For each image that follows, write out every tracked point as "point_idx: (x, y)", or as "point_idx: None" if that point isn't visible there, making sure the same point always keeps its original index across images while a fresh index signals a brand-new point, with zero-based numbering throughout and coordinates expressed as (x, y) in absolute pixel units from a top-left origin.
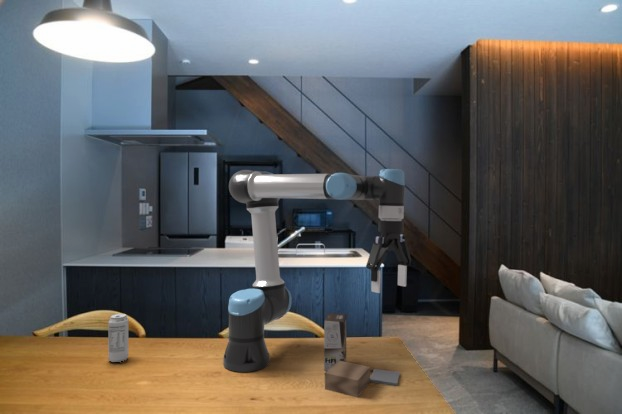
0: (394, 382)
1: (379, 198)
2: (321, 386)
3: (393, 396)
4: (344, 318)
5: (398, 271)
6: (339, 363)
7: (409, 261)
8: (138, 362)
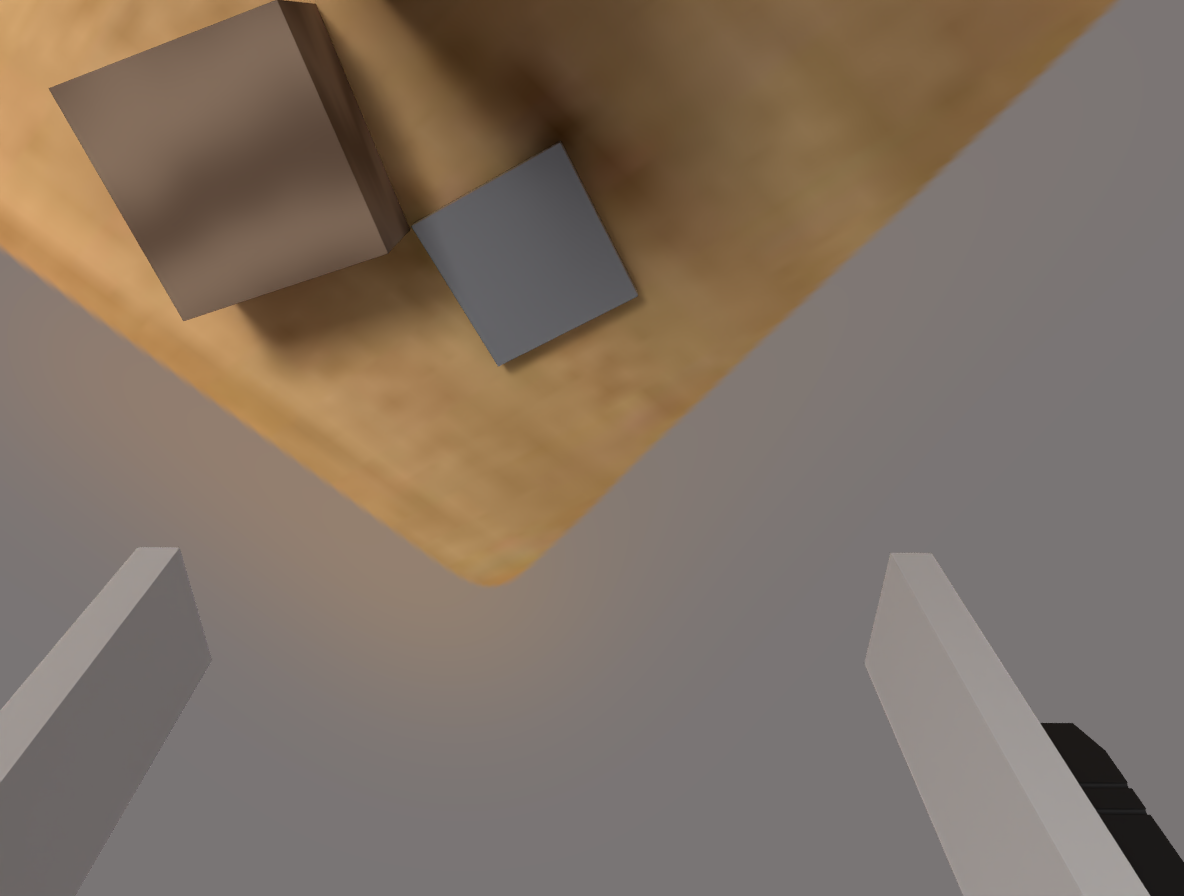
0: (496, 350)
1: None
2: (112, 35)
3: (394, 408)
4: None
5: (996, 763)
6: (243, 44)
7: None
8: None
